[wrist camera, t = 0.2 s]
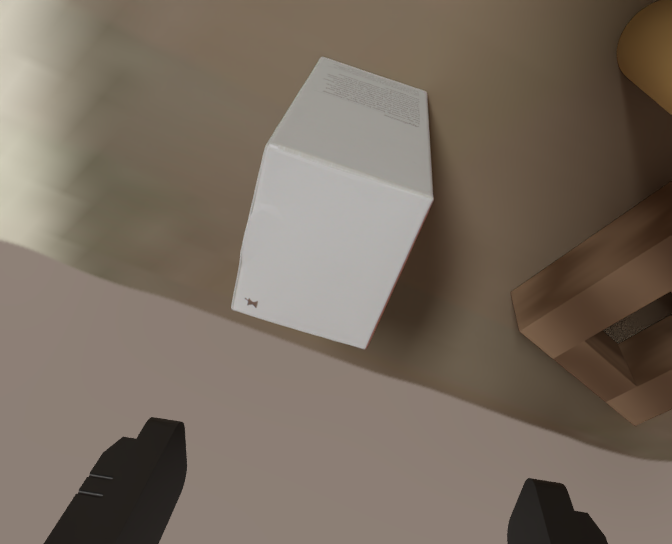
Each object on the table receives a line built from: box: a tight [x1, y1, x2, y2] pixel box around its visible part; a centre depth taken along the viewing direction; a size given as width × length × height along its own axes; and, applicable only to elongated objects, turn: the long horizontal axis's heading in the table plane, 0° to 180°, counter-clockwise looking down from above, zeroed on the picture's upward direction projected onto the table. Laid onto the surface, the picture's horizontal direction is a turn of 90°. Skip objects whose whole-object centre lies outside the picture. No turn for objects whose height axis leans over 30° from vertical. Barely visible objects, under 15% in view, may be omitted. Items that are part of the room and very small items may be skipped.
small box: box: [231, 57, 434, 349], centre depth 25 cm, size 8×6×13 cm
